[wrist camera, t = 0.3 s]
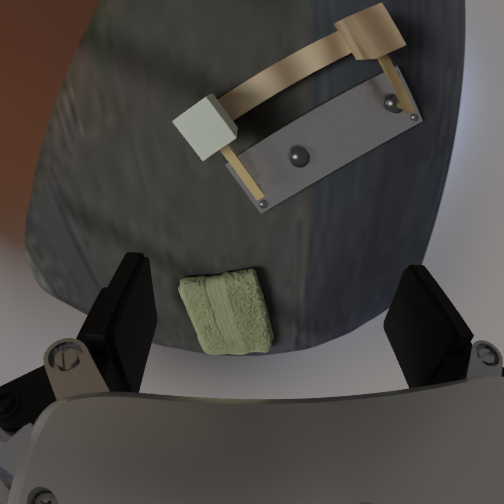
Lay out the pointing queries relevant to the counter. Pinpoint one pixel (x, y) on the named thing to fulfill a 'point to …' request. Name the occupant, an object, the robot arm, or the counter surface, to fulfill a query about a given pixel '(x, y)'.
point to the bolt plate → (325, 139)
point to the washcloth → (228, 312)
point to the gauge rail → (327, 60)
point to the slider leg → (214, 136)
